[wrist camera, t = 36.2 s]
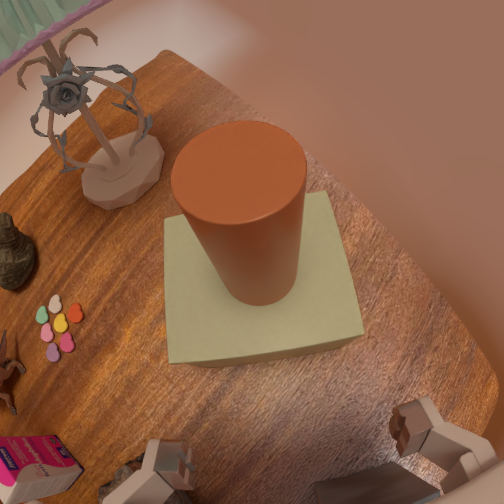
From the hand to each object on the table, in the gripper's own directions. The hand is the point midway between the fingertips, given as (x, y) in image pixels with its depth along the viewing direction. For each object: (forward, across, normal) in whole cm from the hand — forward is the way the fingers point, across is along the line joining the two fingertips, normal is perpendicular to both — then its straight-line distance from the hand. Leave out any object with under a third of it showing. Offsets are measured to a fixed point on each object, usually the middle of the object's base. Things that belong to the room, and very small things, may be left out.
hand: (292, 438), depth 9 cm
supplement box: (+6, +27, +17) cm, 33 cm away
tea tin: (+12, 0, -2) cm, 13 cm away
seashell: (+25, +38, -2) cm, 45 cm away
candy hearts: (+19, +26, +4) cm, 32 cm away
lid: (+13, +1, -1) cm, 13 cm away
